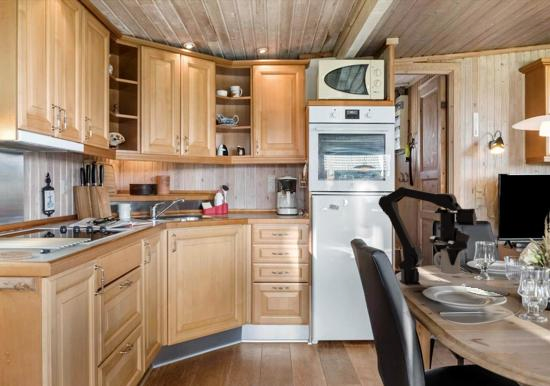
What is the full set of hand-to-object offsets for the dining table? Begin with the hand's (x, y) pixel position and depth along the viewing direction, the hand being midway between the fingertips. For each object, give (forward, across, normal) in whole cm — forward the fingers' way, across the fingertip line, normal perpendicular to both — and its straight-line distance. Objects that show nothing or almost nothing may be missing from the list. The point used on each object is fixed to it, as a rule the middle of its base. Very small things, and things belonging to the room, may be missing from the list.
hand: (447, 263), depth 166 cm
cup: (+4, 0, 0) cm, 4 cm away
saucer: (+10, -7, -12) cm, 17 cm away
